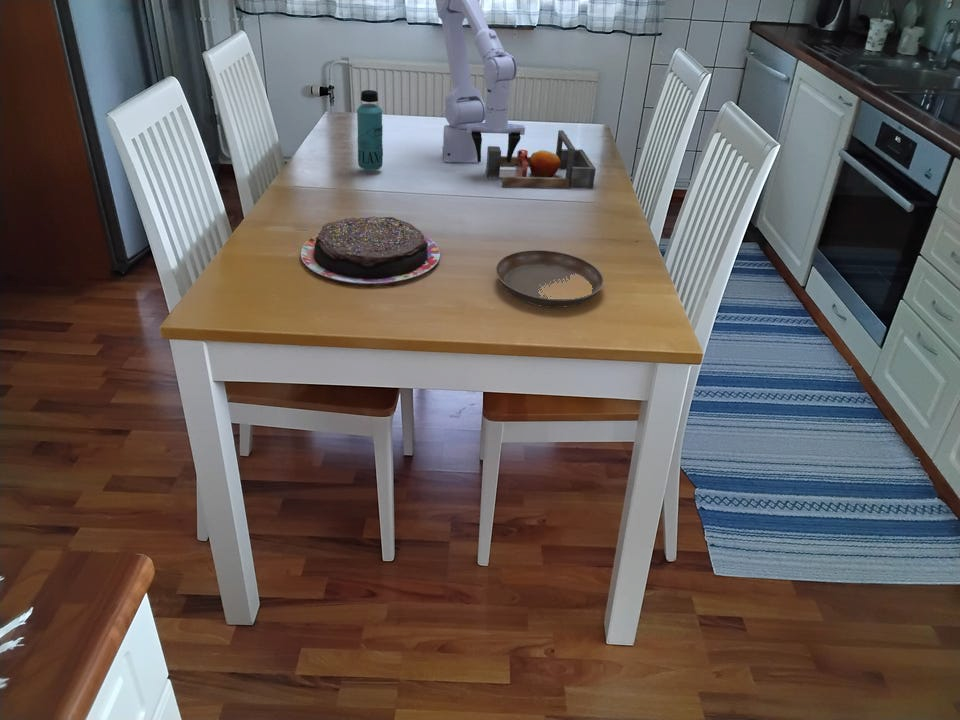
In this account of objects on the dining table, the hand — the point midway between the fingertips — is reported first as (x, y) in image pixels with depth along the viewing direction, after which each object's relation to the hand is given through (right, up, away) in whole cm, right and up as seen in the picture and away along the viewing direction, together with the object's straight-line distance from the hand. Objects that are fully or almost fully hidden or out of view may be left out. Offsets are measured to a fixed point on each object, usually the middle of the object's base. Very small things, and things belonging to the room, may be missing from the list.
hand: (493, 161), depth 194 cm
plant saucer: (+10, -38, -49) cm, 62 cm away
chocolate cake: (-26, -31, -42) cm, 58 cm away
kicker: (+3, -3, +3) cm, 5 cm away
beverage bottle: (-32, -3, -1) cm, 32 cm away
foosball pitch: (+13, -3, +4) cm, 14 cm away
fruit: (+13, -3, +4) cm, 14 cm away
